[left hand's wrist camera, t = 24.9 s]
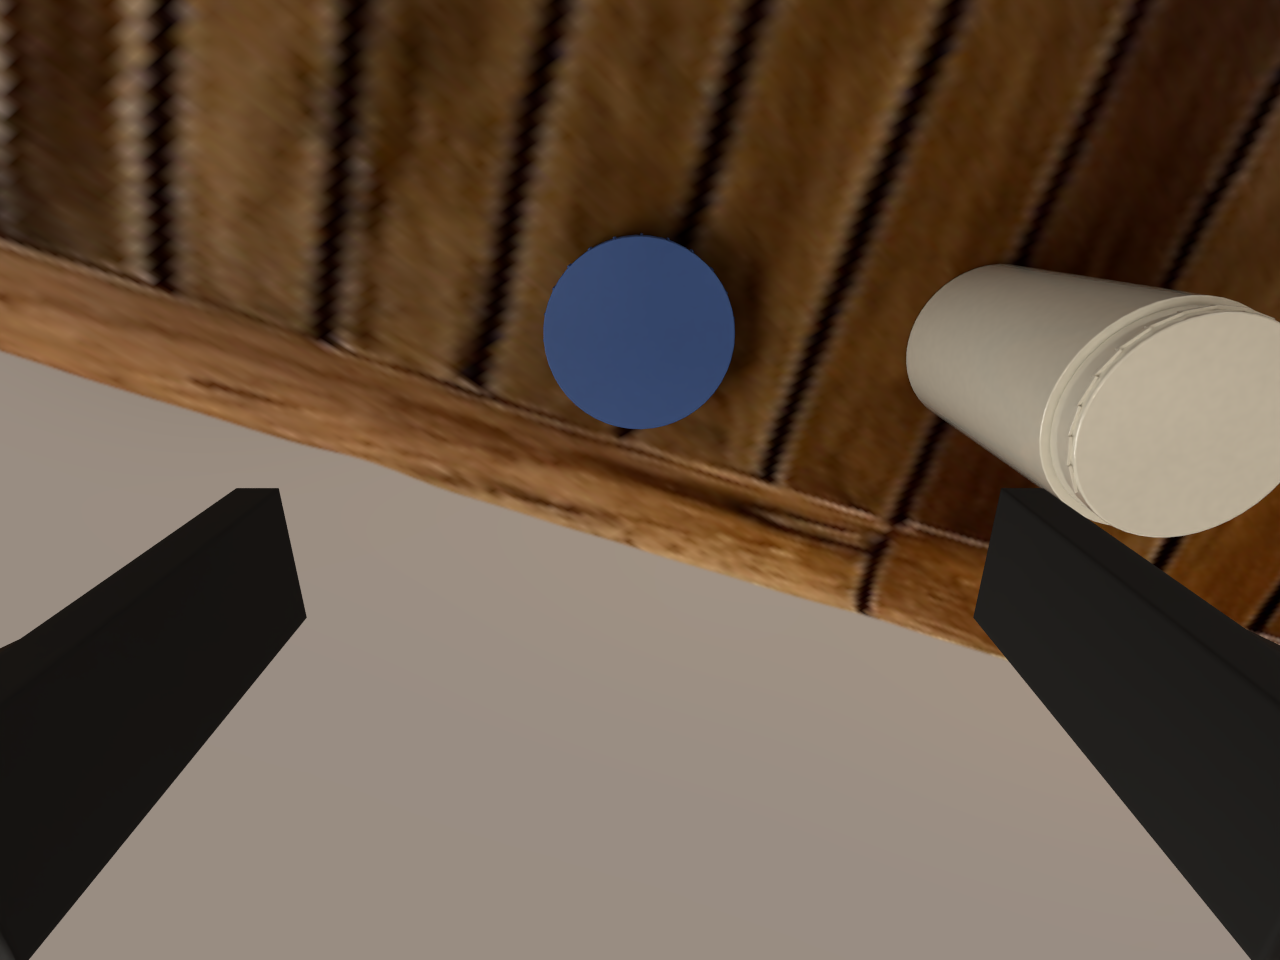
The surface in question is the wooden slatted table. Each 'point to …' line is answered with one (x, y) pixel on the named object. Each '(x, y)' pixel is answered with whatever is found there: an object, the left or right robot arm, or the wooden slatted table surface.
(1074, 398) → the jar
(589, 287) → the lid
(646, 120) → the wooden slatted table surface
